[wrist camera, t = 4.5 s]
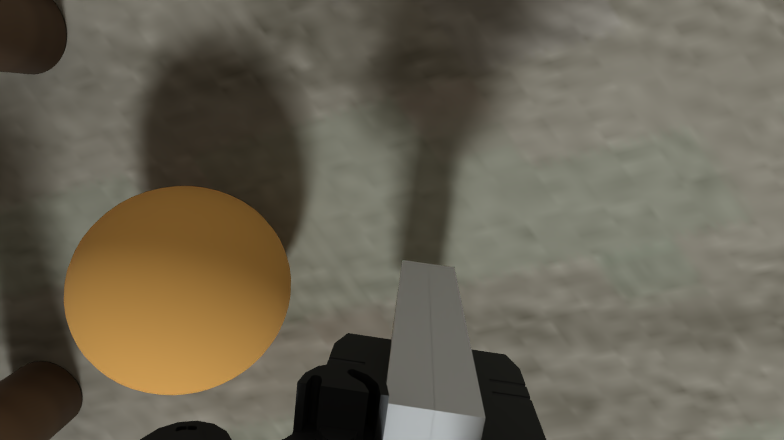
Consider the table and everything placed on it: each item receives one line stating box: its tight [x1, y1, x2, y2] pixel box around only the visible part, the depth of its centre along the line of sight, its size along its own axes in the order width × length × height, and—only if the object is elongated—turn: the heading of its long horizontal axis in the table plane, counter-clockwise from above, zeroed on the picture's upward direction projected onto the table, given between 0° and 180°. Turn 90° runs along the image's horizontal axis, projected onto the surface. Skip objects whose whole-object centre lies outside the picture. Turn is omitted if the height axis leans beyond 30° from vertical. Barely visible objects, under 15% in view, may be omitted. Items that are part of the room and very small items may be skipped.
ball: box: [64, 186, 291, 395], centre depth 13 cm, size 6×6×6 cm
